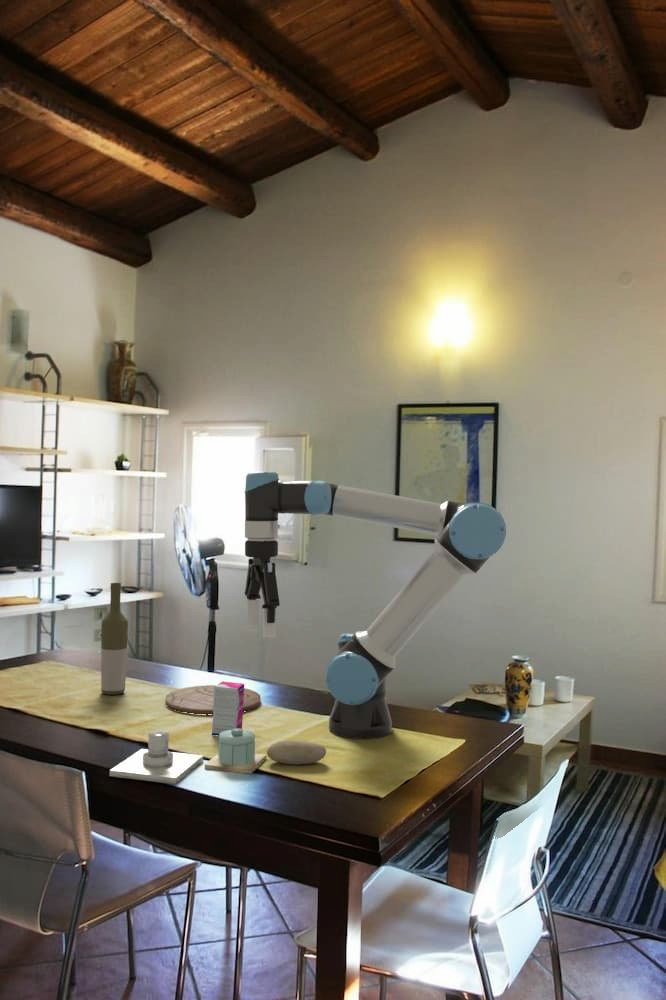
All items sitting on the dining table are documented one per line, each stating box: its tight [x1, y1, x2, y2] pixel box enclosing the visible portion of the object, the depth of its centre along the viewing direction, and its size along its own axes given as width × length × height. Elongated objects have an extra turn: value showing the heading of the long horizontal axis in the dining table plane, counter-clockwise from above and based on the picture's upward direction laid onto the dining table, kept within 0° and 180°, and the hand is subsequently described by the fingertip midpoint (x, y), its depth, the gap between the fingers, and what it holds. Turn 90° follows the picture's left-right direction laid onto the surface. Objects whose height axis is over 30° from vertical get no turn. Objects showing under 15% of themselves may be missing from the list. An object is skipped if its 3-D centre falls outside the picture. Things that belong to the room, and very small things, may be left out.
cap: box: [217, 728, 256, 766], centre depth 176 cm, size 7×7×6 cm
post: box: [109, 730, 204, 785], centre depth 171 cm, size 14×14×7 cm
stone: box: [266, 739, 327, 765], centre depth 177 cm, size 6×6×12 cm
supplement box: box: [211, 681, 245, 736], centre depth 196 cm, size 6×6×12 cm
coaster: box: [204, 752, 267, 775], centre depth 176 cm, size 10×10×1 cm
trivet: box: [165, 684, 262, 715], centre depth 223 cm, size 25×25×2 cm
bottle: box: [100, 582, 129, 696], centre depth 229 cm, size 7×7×30 cm
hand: (261, 632), depth 192 cm, fingers open, 13 cm apart
